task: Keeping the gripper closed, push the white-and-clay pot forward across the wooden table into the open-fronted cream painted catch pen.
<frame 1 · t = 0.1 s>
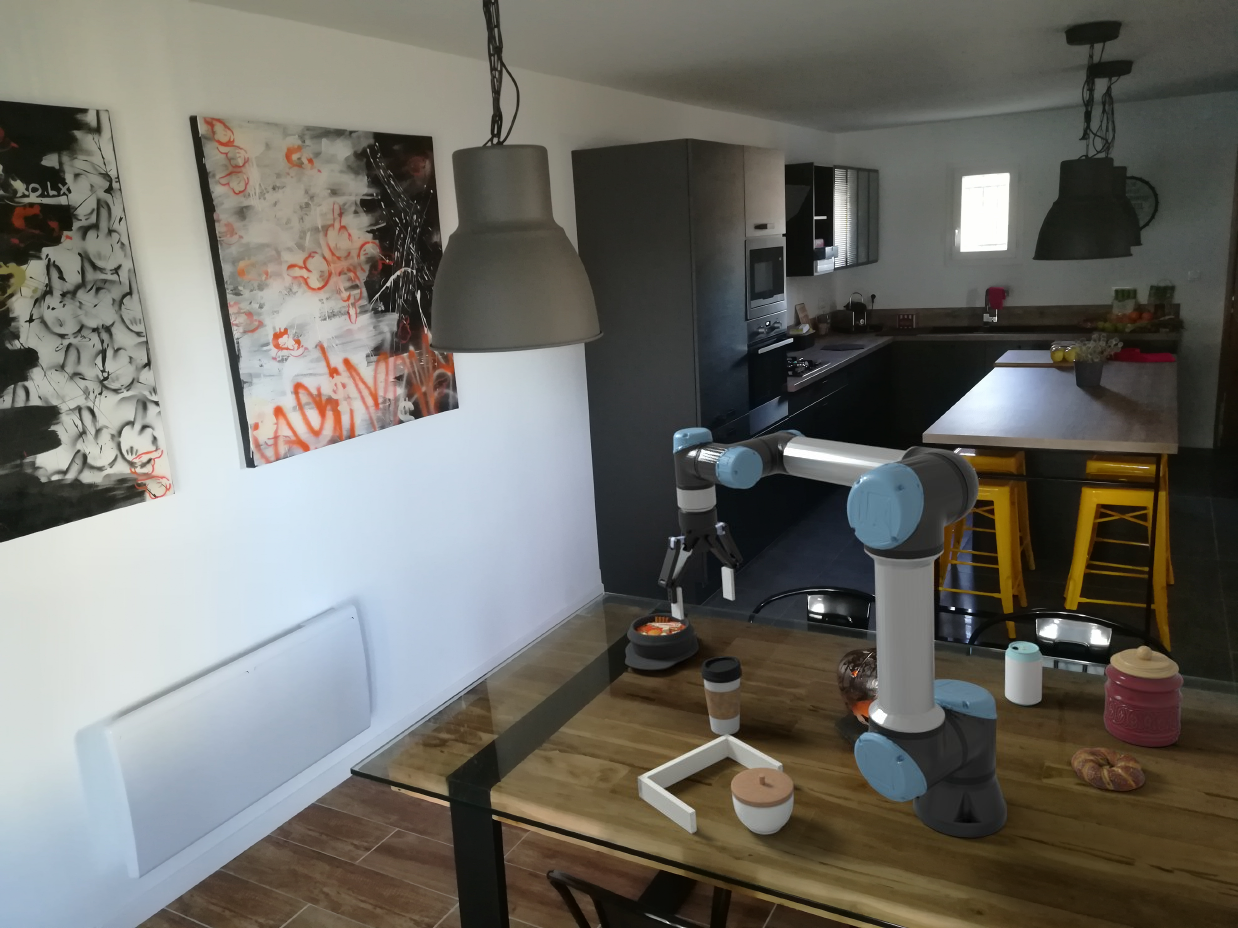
hand: (704, 607, 181), 28 cm above the table, fingers open, 13 cm apart
catch pen: (711, 789, 168), on the table
canister: (1141, 731, 175), on the table
casserole: (662, 655, 227), on the table
lidded jar: (764, 824, 156), on the table
can: (1023, 700, 190), on the table
pretzel: (1106, 777, 162), on the table
coffee cup: (725, 728, 189), on the table
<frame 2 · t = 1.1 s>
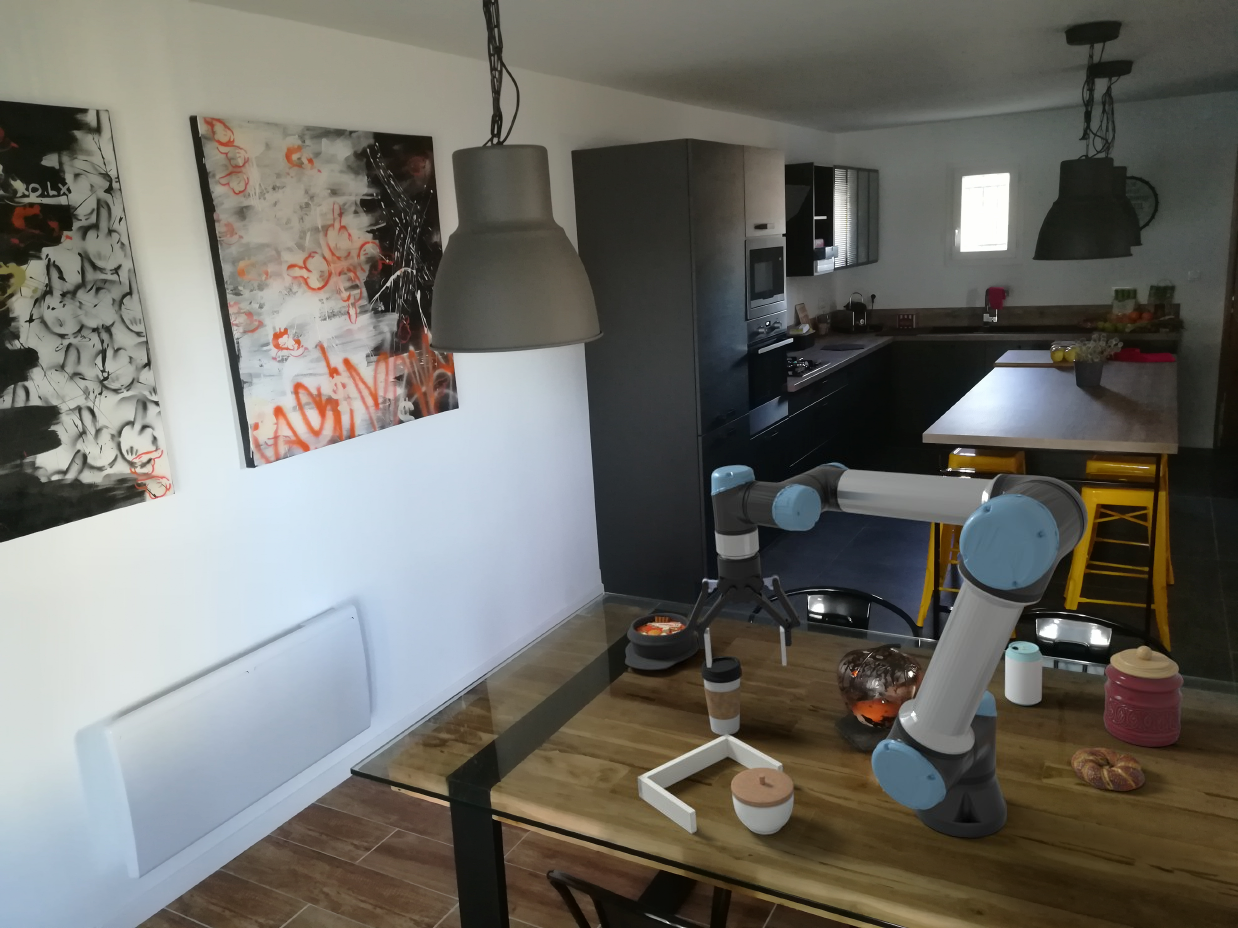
hand: (746, 663, 164), 24 cm above the table, fingers open, 13 cm apart
nothing on the table moved.
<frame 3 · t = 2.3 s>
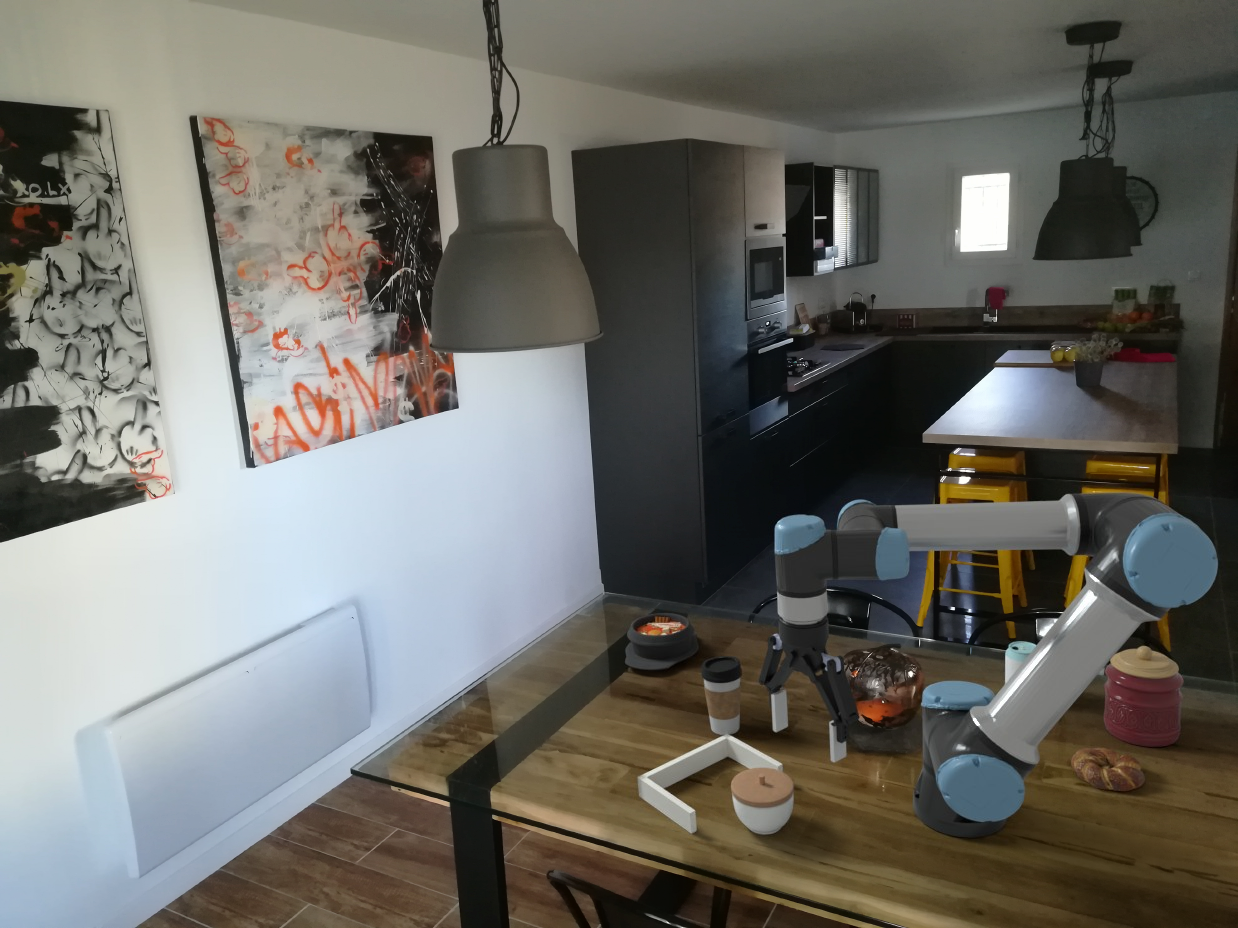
hand: (808, 742, 143), 20 cm above the table, fingers open, 12 cm apart
nothing on the table moved.
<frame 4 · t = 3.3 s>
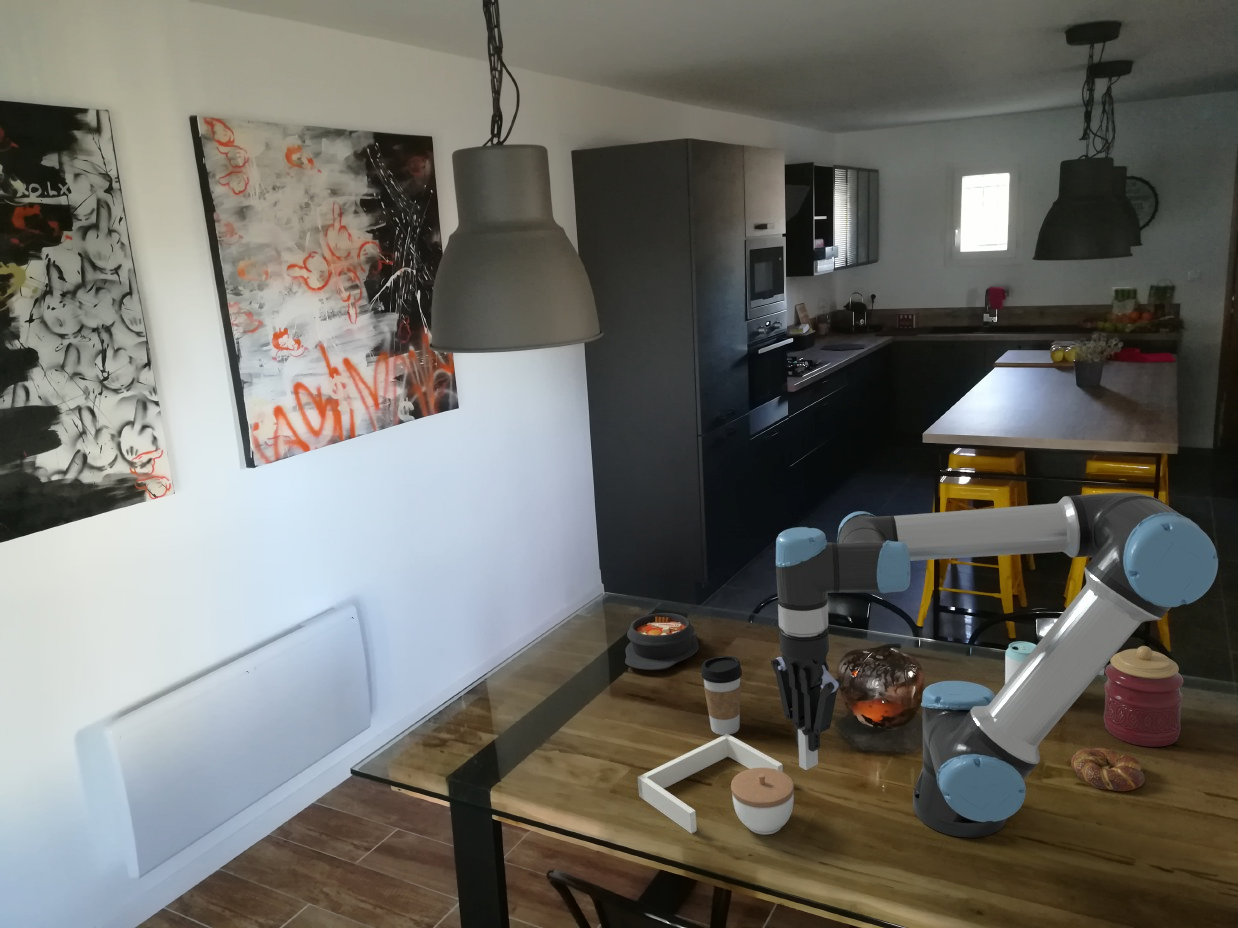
hand: (808, 764, 144), 16 cm above the table, fingers closed
nothing on the table moved.
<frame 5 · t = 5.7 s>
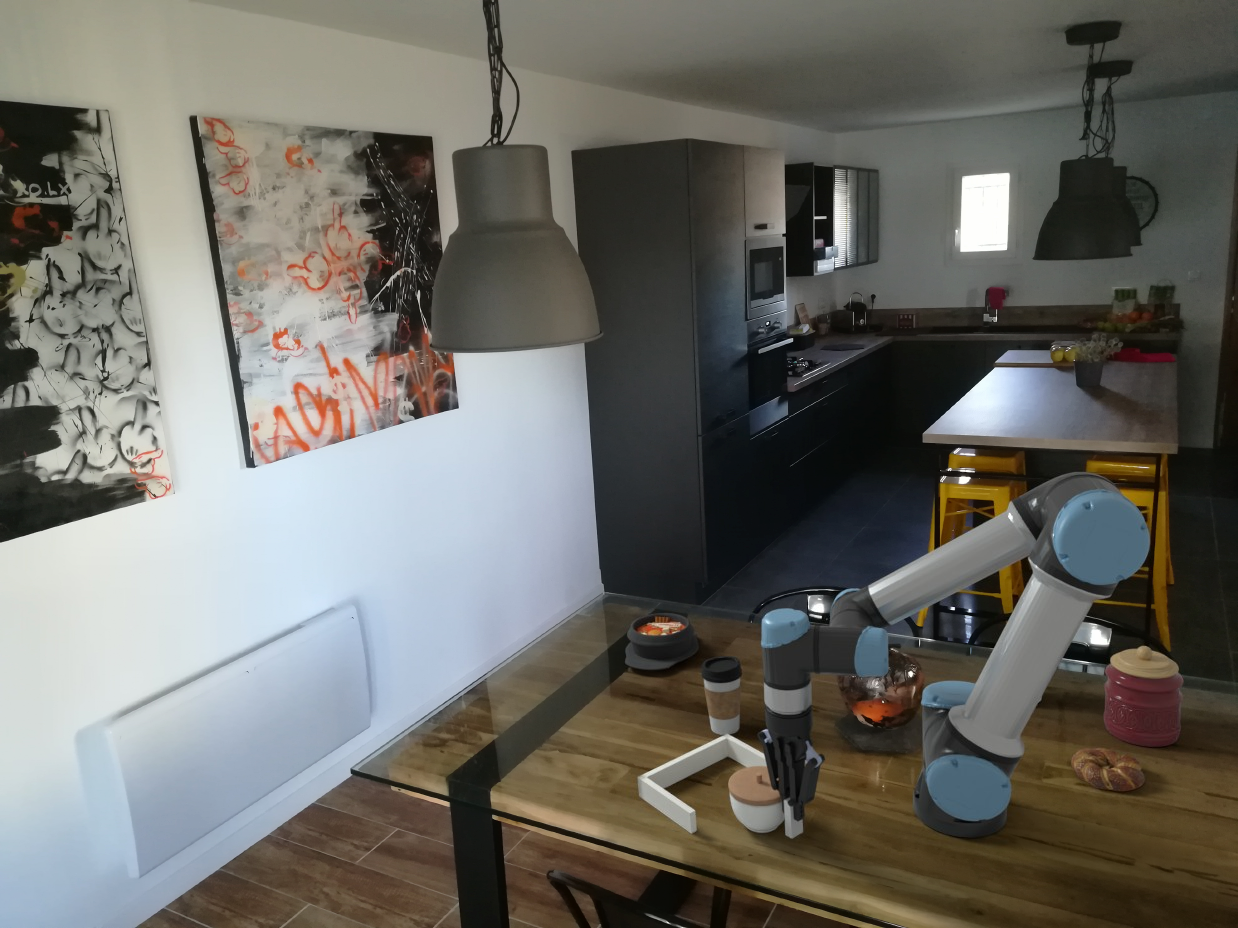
hand: (794, 833, 150), 2 cm above the table, fingers closed
lidded jar: (761, 823, 157), on the table, touching gripper
everything else where it was.
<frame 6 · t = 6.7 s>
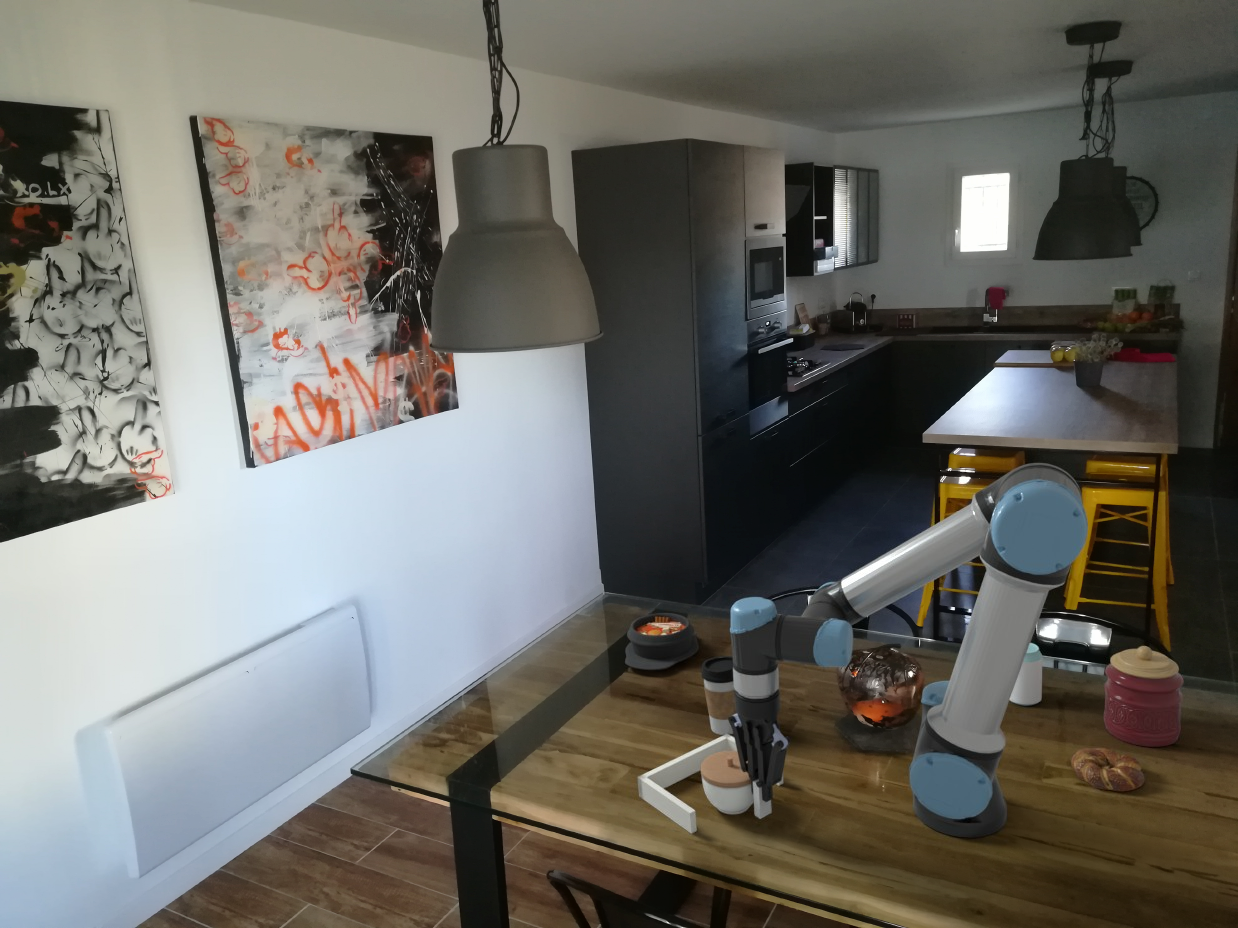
hand: (763, 813, 156), 2 cm above the table, fingers closed
lidded jar: (732, 805, 163), on the table, touching gripper
everything else where it was.
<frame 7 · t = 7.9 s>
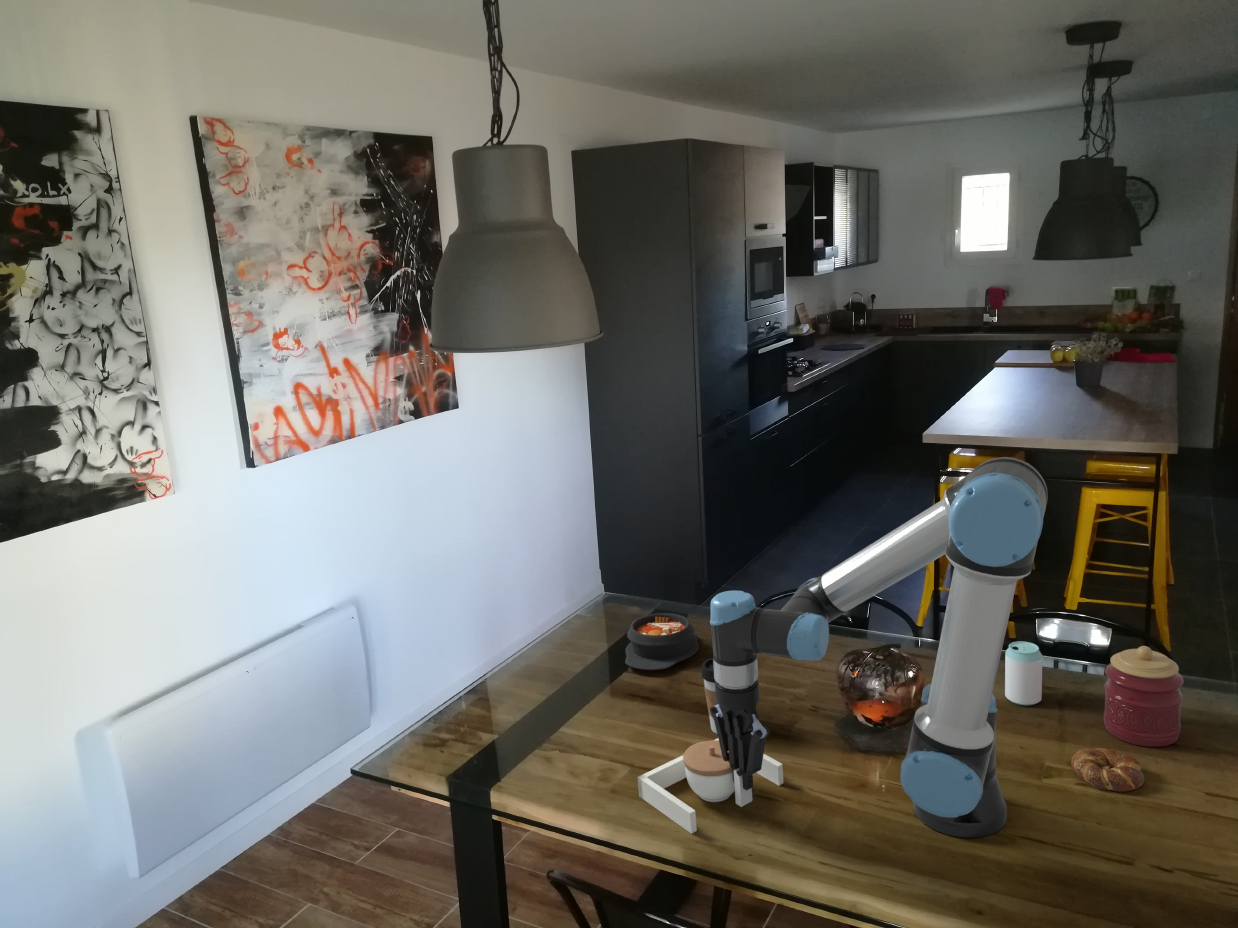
hand: (744, 801, 160), 2 cm above the table, fingers closed
lidded jar: (714, 793, 167), on the table, touching gripper
everything else where it was.
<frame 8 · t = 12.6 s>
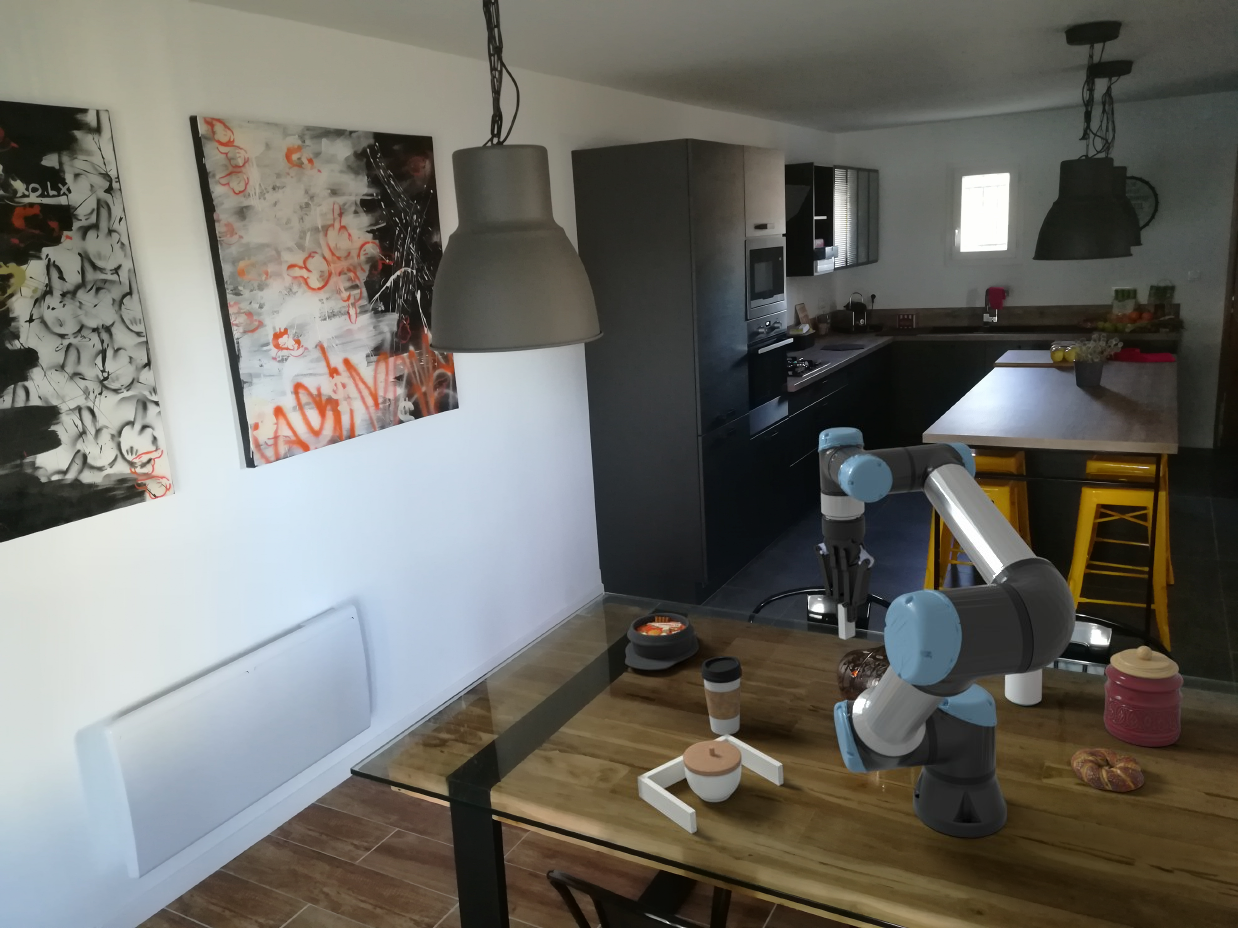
hand: (847, 636, 166), 26 cm above the table, fingers closed
lidded jar: (714, 793, 167), on the table
everything else where it was.
at the end: lidded jar inside the target area on the catch pen (1.4 cm from its centre), point 0.0 cm above the catch pen's base; lidded jar moved 12.9 cm from its start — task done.
